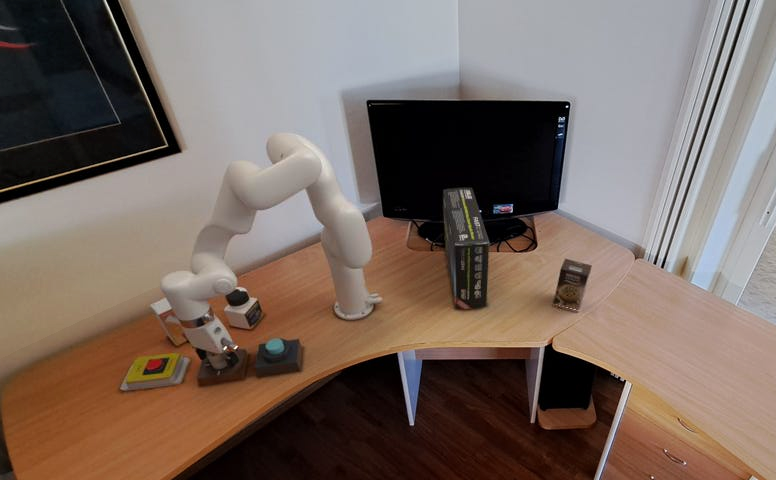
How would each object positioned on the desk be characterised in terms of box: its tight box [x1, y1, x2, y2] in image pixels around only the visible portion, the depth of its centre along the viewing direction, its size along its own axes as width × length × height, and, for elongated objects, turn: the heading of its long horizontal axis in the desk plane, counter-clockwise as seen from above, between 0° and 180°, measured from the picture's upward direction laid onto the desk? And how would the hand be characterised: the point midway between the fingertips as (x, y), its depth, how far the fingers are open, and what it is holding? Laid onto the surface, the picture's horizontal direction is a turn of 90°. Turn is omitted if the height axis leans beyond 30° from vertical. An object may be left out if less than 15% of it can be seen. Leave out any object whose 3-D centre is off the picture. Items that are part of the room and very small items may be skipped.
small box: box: [149, 297, 187, 347], centre depth 131 cm, size 8×6×13 cm
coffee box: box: [552, 258, 593, 313], centre depth 146 cm, size 9×6×16 cm
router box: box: [442, 187, 491, 310], centre depth 152 cm, size 36×11×27 cm, turn 10°
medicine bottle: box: [223, 286, 265, 330], centre depth 137 cm, size 7×7×12 cm
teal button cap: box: [266, 338, 284, 355], centre depth 124 cm, size 4×4×2 cm
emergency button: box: [119, 352, 191, 392], centre depth 122 cm, size 9×4×15 cm
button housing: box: [254, 338, 303, 378], centre depth 126 cm, size 11×9×6 cm
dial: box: [206, 349, 228, 369], centre depth 122 cm, size 4×4×5 cm
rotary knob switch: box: [195, 348, 249, 386], centre depth 124 cm, size 11×9×3 cm
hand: (220, 360), depth 123 cm, fingers open, 9 cm apart
